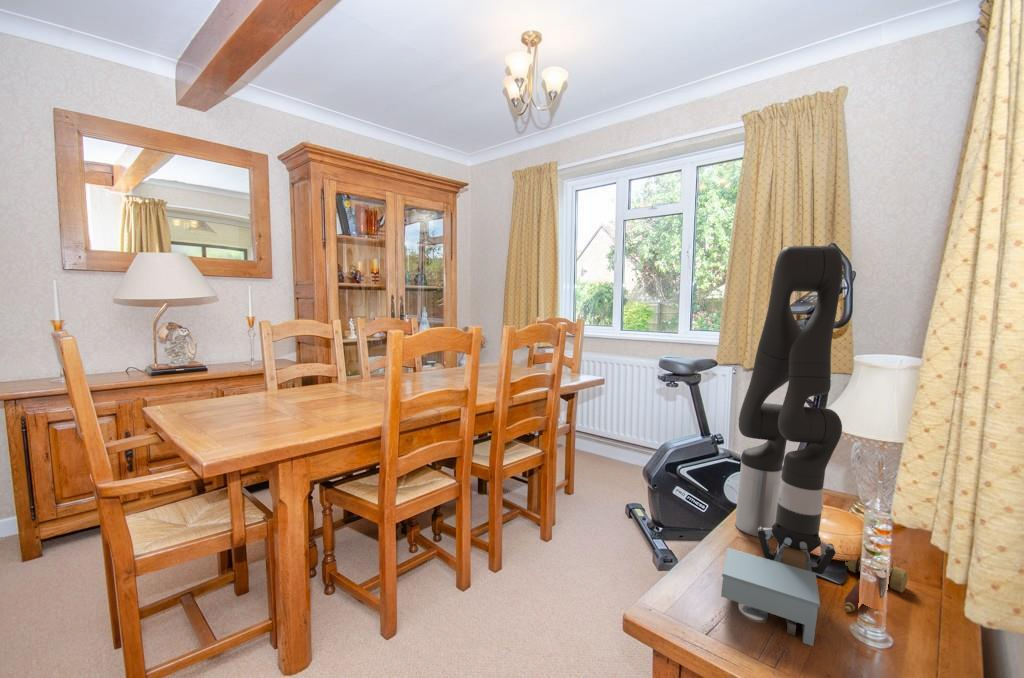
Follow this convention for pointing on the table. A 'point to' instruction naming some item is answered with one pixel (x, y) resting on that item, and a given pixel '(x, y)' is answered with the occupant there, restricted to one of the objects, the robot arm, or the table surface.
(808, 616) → the plinth shelf
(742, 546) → the table surface
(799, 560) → the wood grain block
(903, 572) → the gavel
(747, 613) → the silver metal disc
